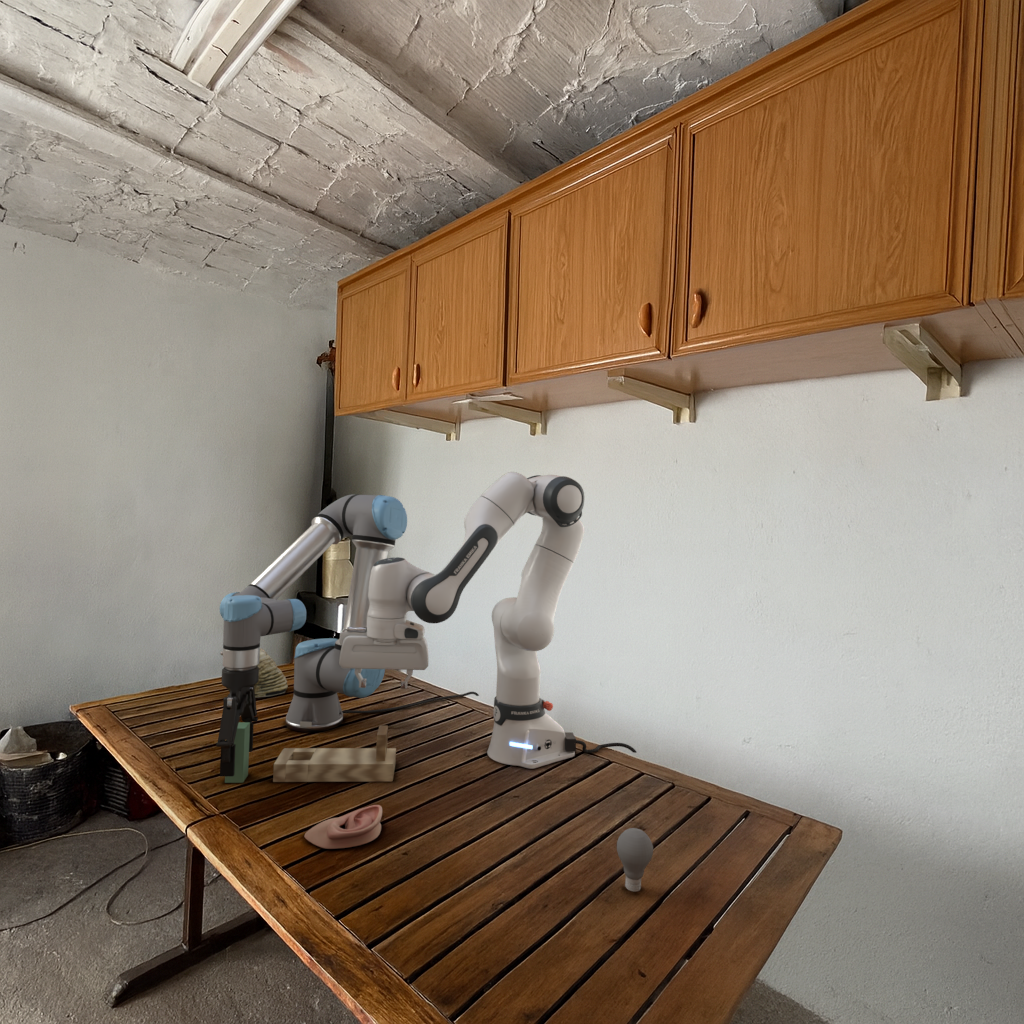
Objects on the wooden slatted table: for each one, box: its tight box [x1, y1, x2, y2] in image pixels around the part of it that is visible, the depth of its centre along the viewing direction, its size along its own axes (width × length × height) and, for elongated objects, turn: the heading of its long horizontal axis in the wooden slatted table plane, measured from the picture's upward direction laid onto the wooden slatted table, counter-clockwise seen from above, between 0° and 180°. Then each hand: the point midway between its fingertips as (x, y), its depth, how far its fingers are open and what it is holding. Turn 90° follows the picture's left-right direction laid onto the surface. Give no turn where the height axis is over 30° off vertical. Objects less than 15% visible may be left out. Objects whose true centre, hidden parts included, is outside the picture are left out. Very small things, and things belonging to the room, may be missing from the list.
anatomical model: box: [303, 804, 383, 850], centre depth 119 cm, size 13×4×12 cm
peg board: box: [272, 725, 397, 783], centre depth 145 cm, size 26×9×10 cm, turn 96°
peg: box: [224, 721, 250, 784], centre depth 140 cm, size 4×4×12 cm
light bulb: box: [616, 827, 654, 893], centre depth 106 cm, size 6×6×10 cm
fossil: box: [225, 647, 289, 699], centre depth 198 cm, size 9×18×15 cm, turn 132°
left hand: (237, 763), depth 140 cm, fingers open, 12 cm apart
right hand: (383, 687), depth 146 cm, fingers open, 8 cm apart
